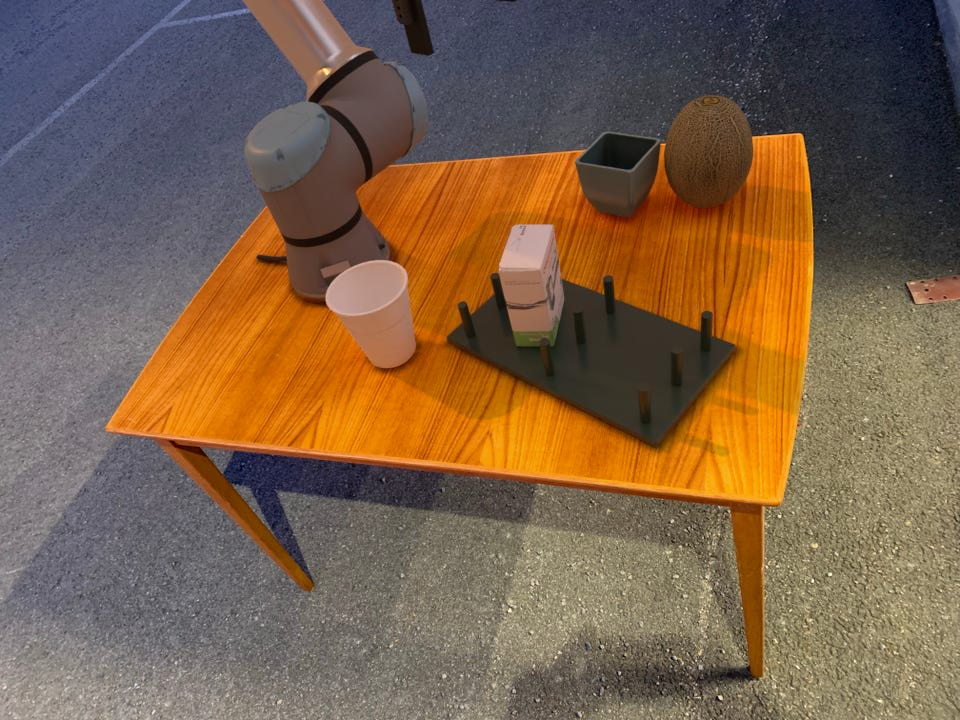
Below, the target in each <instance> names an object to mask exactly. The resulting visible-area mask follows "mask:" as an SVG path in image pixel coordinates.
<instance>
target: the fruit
mask: <svg viewBox="0 0 960 720" xmlns="http://www.w3.org/2000/svg"><path fill="white" fill-rule="evenodd" d="M753 160H754V143H753V134H752V129H751V127H750V123H749V121H748V118H747V117H746V115H745V113H744V112H743V110H742V109H741V108H740V106H739V105H738V104H737V103H736V102H735V101H734V100H732V99H730V98H728V97H726V96H723V95H722V96H721V95H716V94H714V95H713V94H708V95H704V96H700V97H697V98H695V99H692V100H691V101H690V102H688V103H687V104H685V106H684V107H682V108H681V110H680V111H679V112H678V114H677V115H676V117H675V118H674V120H673V122H672V124H671V126H670V128H669V131H668V134H667V136H666V140H665V145H664V151H663V162H664V171H665V175H666V178H667V182H668V184H669V187H670V188H671V189H672V191H673V193H674V195H675V196H676V197H677V198H678V199H679V200H680V201H681V202H682V203H684V204H686V205H688V206H690V207H693V208H697V209H710V208H711V209H712V208H715V207H717V206H721V205H723V204H724V203H727V202H728V201H730V200H731V199H733V197H734V196H736V195H737V193H738V192H739V191H740V190H741V189H742V187H743V186H744V185H745V182H746V181H747V178H748V177H749V174H750V172H751V168H752V166H753V165H752V164H753Z"/></svg>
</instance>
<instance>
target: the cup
mask: <svg viewBox="0 0 960 720" xmlns="http://www.w3.org/2000/svg"><path fill="white" fill-rule="evenodd" d="M408 282H409V274H408V272H407V270H406V269H405V268H404V266H403V265H401V264H400V263H397V262H395V261H393V260H392V261H386V260H375V261H368V262H364V263H361V264H358V265H355V266H353V267H351V268H349V269H347V270H346V271H344V272H343V273H341V274H340V275H339V276H338V277H336V278H335V279H334V280H333V282H332V283H331V284H330V286H329V287H328V289H327V292H326V303H325V304H326V306H327V307H328V309H329V310H330V311H332V312H333V314H335V315H336V317H337V318H338V319H339V321H340V322H341V324H342V325H343V326H344V327H345V329H346V330H347V331H348V333H349V334H350V336H351V337H352V338H353V340H354V341H355V343H356V344H357V345H358V347H359V348H360V349H361V351H362V352H363V353H364V355H365V356H366V357H367V359H368V360H369V361H370V364H372V365H373V366H375V367H377V368H380V369H393V368H397V367H399V366H402V365H404V364H405V363H406V362H408V361H410V359H411V358H412V357H413V355H414V354H415V352H416V348H417V342H416V336H415V331H414V330H415V329H414V322H413V315H412V308H411V302H410V295H409V289H408Z"/></svg>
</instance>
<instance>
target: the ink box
mask: <svg viewBox="0 0 960 720" xmlns="http://www.w3.org/2000/svg"><path fill="white" fill-rule="evenodd" d="M498 267H499V268H498V271H497V272H498V273H499V276H500V280H501V285H502V289H503V293H504V297H505V301H506V305H507V309H508V314H509V318H510V322H511V326H512V330H513V334H514V339H515V343H516V346H537V347H538V346H539V341H540V340H541V339H542V338H548V339H549V340H550V344H551V346H554V344H555V339H556V335H557V330H558V326H559V322H560V317H561V313H562V308H563V303H564V293H563V286H562V279H563V278H562V273H561V266H560V259H559V252H558V246H557V239H556V232H555V228H554V223H551V224H544V223H542V224H541V223H540V224H514V225H513V226H512V227H511V228H510V233H509V235H508V238H507V241H506V243H505V247H504V249H503V252H502V255H501V259H500V261H499V263H498Z"/></svg>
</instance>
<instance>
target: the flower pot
mask: <svg viewBox="0 0 960 720" xmlns="http://www.w3.org/2000/svg"><path fill="white" fill-rule="evenodd" d="M661 145H662V139H661V138H657V137H651V136H642V135H635V134H627V133H621V132H614V131H604V132H602V133H601V134H600V135H599V136H598V137H597V138H596V139H595V140H594V141H593V142H592V143H590V145H589V146H588V147H587V148H586V149H585V150H584V151H583V152H582V153H581V154H580V155H579V156H578V157H577V158H576V159H575V160H574V164H575V168H576V172H577V177H578V180H579V183H580V187H581V189H582V192H583V195H584V198H586V200H587V201H588V203H589V204H590V205H591V206H592V207H593V208H594V209H595V210H596V211H597V212H599V213H603V214H608V215H612V216H617V217H622V218H631V217H632V215H634V213H635V212H636V211H637V210H638V208H639V207H640V206H641V205H642V204H643V203H644V201H646V199H647V197H648V196H649V194H650V192H651V190H652V189H653V186H654V184H655V181H656V177H657V175H658V171H659V169H658V168H659V162H660V153H661Z"/></svg>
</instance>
